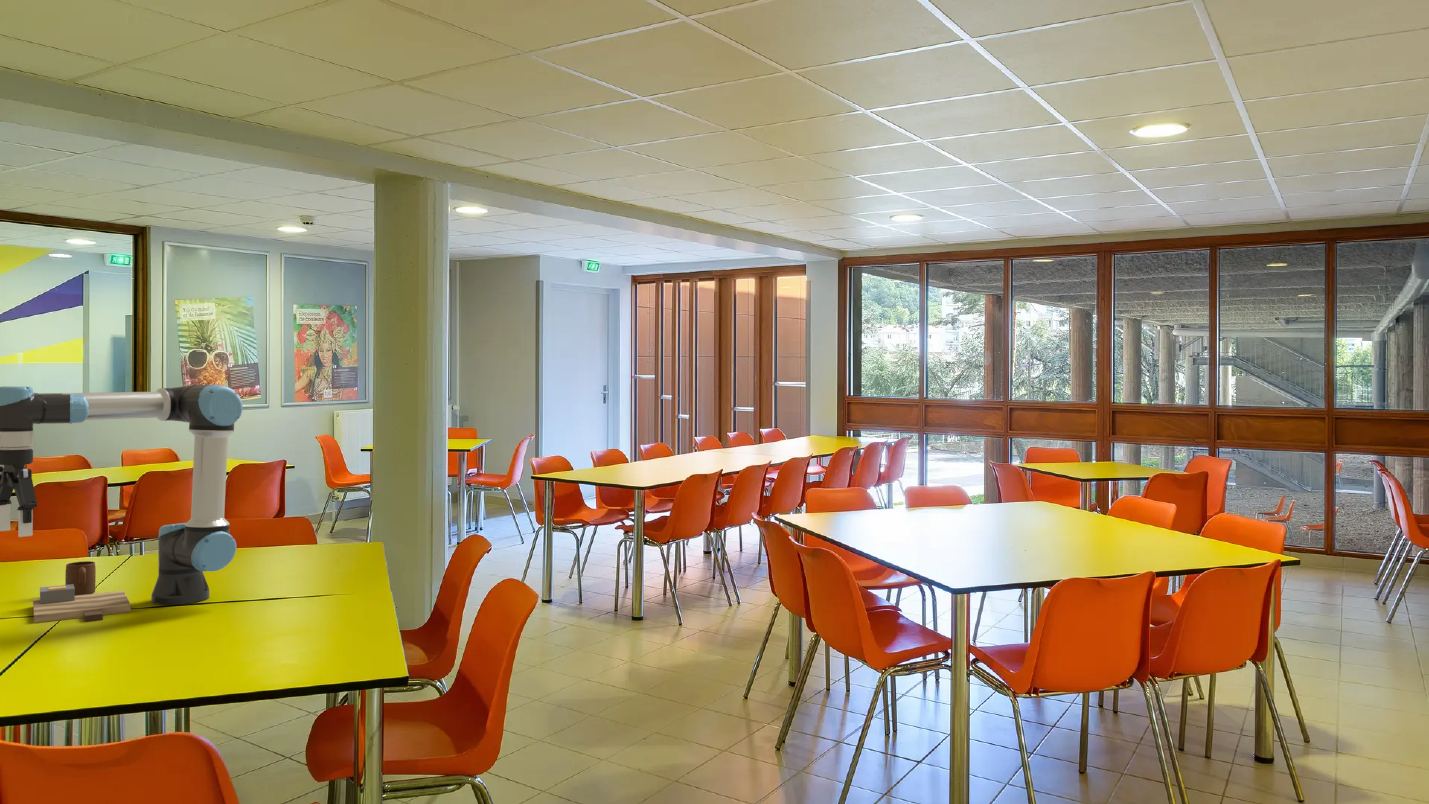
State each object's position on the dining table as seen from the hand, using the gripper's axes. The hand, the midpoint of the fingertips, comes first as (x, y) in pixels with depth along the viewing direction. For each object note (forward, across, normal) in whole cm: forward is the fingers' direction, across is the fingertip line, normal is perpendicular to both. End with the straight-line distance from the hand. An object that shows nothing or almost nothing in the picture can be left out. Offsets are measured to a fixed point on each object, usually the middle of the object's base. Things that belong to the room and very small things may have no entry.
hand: (14, 533), depth 229 cm
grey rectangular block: (+25, -32, +21) cm, 46 cm away
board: (+27, -21, +23) cm, 42 cm away
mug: (+27, -43, +32) cm, 60 cm away
